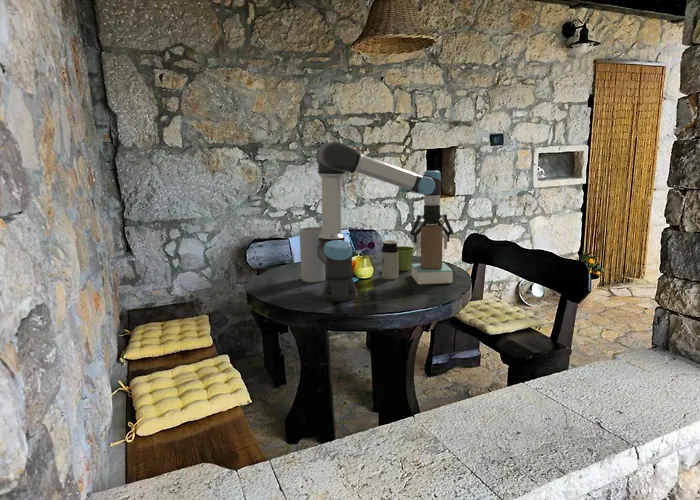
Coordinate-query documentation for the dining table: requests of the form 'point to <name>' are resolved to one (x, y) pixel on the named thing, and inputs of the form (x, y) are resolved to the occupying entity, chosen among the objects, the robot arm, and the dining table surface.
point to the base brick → (432, 274)
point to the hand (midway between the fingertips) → (431, 249)
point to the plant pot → (404, 257)
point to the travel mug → (389, 259)
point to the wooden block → (431, 246)
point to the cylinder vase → (311, 255)
